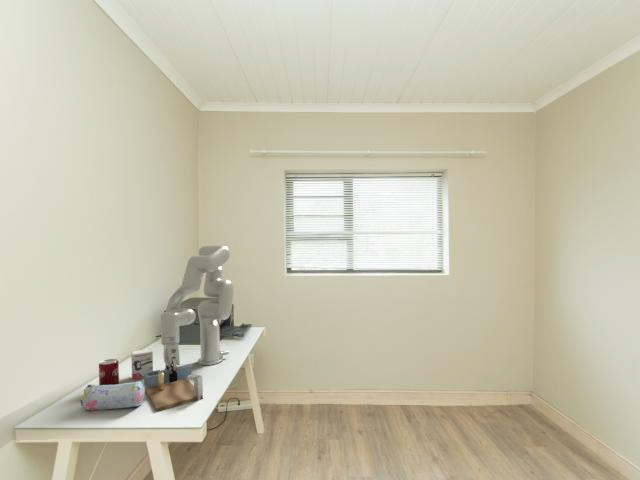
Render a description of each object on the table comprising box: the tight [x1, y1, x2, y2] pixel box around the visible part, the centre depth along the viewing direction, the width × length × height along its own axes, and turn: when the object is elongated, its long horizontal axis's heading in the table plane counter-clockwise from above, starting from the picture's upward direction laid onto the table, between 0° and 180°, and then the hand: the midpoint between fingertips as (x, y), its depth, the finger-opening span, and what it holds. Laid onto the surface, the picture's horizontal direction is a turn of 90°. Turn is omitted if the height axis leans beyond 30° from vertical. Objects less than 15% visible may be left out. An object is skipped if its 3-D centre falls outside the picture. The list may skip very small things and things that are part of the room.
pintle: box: [158, 372, 164, 391], centre depth 146 cm, size 2×2×8 cm
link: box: [143, 363, 193, 388], centre depth 158 cm, size 19×6×5 cm, turn 126°
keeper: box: [186, 374, 204, 402], centre depth 141 cm, size 6×3×9 cm, turn 71°
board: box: [145, 378, 204, 413], centre depth 144 cm, size 17×22×1 cm
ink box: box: [130, 348, 154, 381], centre depth 165 cm, size 8×5×12 cm, turn 123°
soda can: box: [98, 358, 120, 385], centre depth 151 cm, size 7×7×12 cm
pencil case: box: [80, 380, 146, 411], centre depth 135 cm, size 21×9×10 cm, turn 94°
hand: (171, 378), depth 159 cm, fingers open, 6 cm apart
